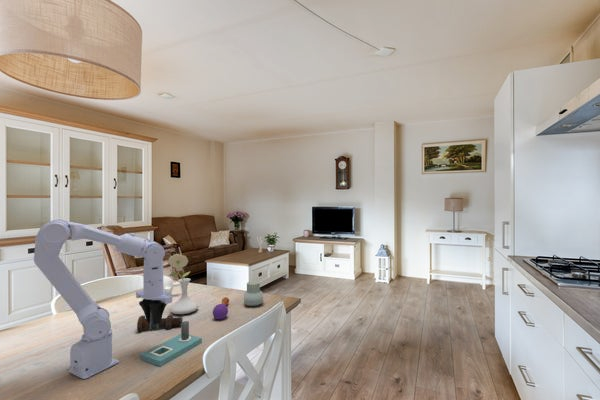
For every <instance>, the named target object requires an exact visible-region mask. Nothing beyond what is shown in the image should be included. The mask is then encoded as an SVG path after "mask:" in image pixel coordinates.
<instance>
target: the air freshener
mask: <svg viewBox="0 0 600 400" xmlns="http://www.w3.org/2000/svg"><path fill="white" fill-rule="evenodd" d="M243 298H244V299H243V300H244V301H243V303H244V305H245V306H247V307H248V306H249V307H255V306H256V307H257V306H260V305H262V304H263V302H264V294H263V291H262V290H261V283H260V281H257V280H249V281H247V282H246V291H245V292H243Z"/></svg>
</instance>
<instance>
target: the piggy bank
mask: <svg viewBox="0 0 600 400" xmlns="http://www.w3.org/2000/svg"><path fill="white" fill-rule="evenodd" d="M179 286H180V287H181V284H180V283H179V281H177V282H174V280H173V279H172V278H171V276H169V275H164V274H163V290H164V291H166V294H168V295H170V296H172V293H173V290H174V287H175V288H177V287H179Z"/></svg>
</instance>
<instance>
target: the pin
mask: <svg viewBox="0 0 600 400" xmlns="http://www.w3.org/2000/svg"><path fill="white" fill-rule="evenodd" d="M158 329H159V327H158V324H156V325H154V324H153V318H152V312H151V309H150V328H149V330H150V331H157V330H158Z"/></svg>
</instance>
